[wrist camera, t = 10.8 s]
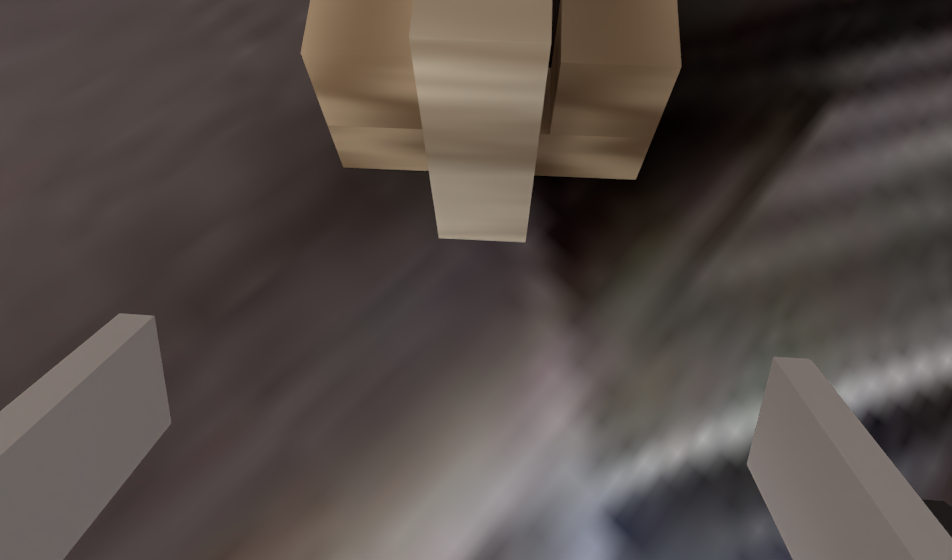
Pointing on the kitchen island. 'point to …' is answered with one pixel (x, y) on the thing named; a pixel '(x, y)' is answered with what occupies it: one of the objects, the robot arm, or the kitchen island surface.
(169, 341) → the kitchen island surface
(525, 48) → the cream wavy slab
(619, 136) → the oak slot board
